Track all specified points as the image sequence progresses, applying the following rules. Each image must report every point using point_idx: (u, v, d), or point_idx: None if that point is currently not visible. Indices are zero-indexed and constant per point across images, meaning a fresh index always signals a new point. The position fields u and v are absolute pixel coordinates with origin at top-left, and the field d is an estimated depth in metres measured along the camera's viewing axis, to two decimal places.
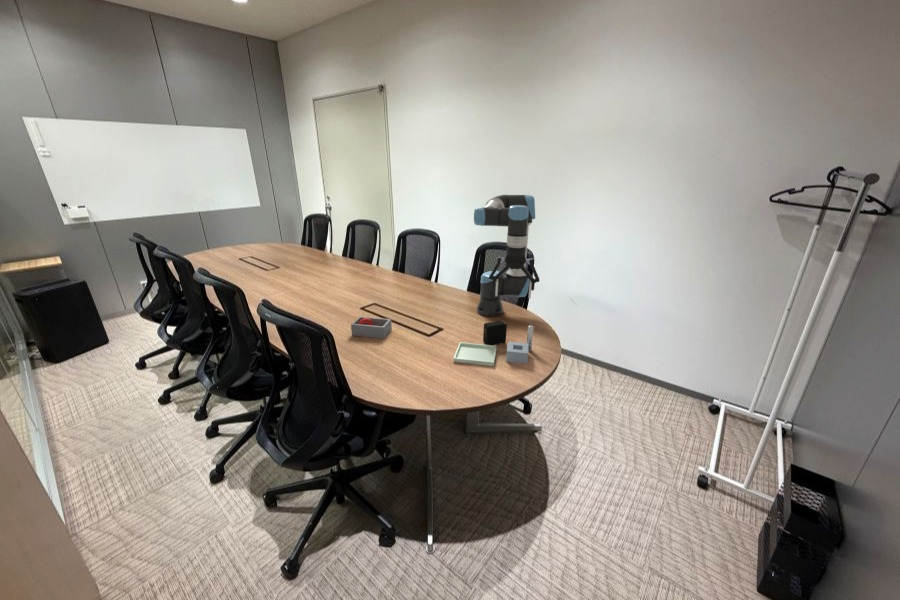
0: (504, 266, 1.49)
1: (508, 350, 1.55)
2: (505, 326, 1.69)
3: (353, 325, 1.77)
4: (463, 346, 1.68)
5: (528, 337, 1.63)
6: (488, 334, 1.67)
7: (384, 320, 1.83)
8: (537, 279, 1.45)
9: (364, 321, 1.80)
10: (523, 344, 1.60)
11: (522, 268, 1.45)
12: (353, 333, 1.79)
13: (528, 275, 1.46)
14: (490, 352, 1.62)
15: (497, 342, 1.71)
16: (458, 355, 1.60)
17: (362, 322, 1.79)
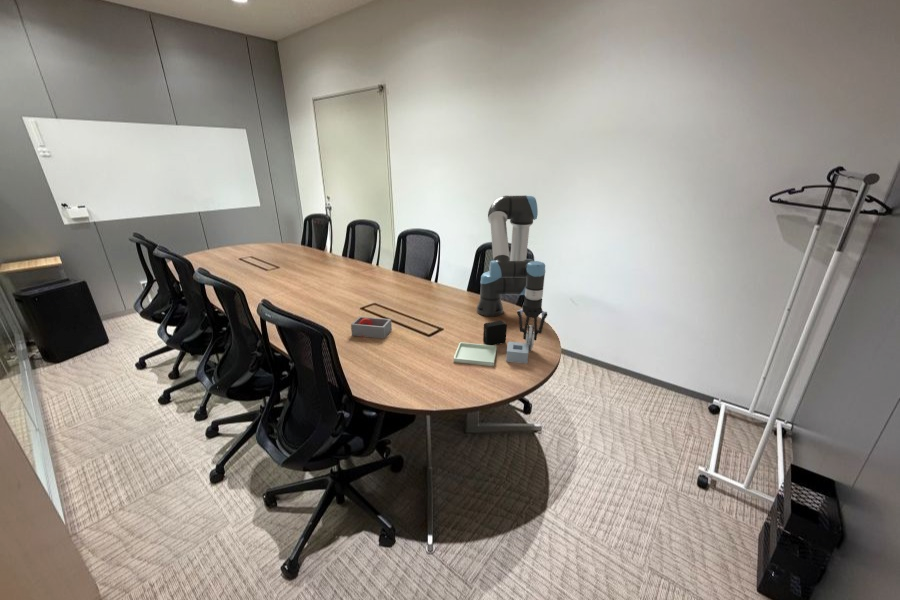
0: (526, 317, 1.62)
1: (508, 350, 1.55)
2: (505, 326, 1.69)
3: (353, 325, 1.77)
4: (463, 346, 1.68)
5: (528, 337, 1.63)
6: (488, 334, 1.67)
7: (384, 320, 1.83)
8: (540, 331, 1.60)
9: (364, 321, 1.79)
10: (523, 344, 1.60)
11: (535, 318, 1.58)
12: (353, 333, 1.79)
13: (535, 326, 1.60)
14: (490, 352, 1.62)
15: (497, 342, 1.71)
16: (458, 355, 1.60)
17: (362, 322, 1.79)
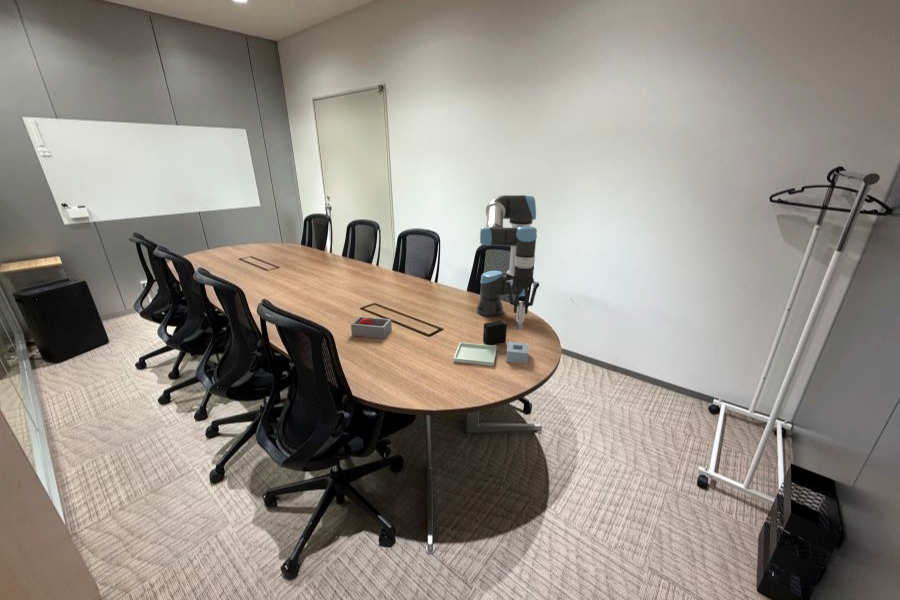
0: None
1: (508, 350, 1.55)
2: (505, 326, 1.69)
3: (353, 325, 1.77)
4: (463, 346, 1.68)
5: (518, 314, 1.51)
6: (488, 334, 1.67)
7: (384, 320, 1.83)
8: (531, 303, 1.48)
9: (364, 321, 1.79)
10: (523, 344, 1.60)
11: (526, 289, 1.46)
12: (353, 333, 1.79)
13: (526, 298, 1.48)
14: (490, 352, 1.62)
15: (497, 342, 1.71)
16: (458, 355, 1.60)
17: (362, 322, 1.79)
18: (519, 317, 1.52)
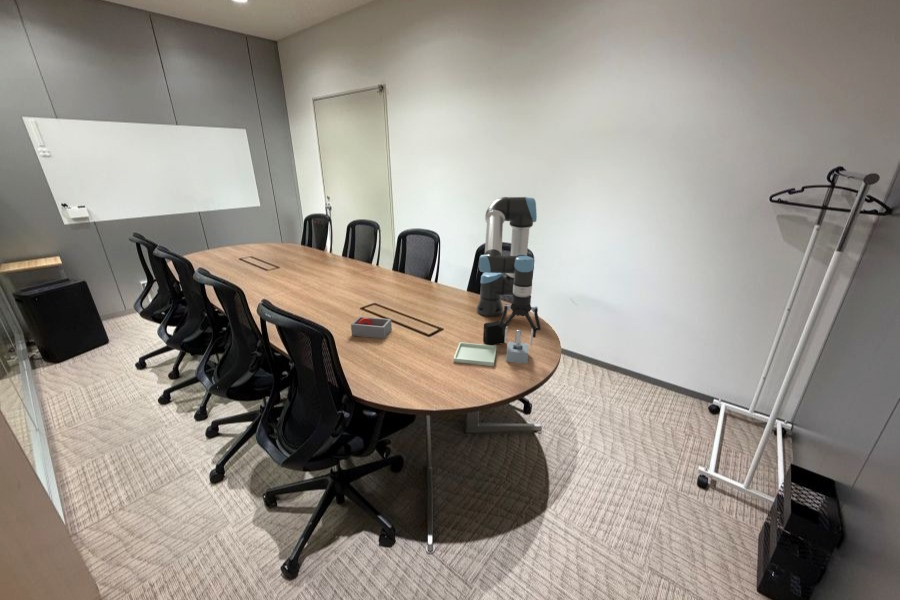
0: (511, 313, 1.54)
1: (508, 350, 1.55)
2: None
3: (353, 325, 1.77)
4: (463, 346, 1.68)
5: (516, 342, 1.56)
6: (488, 334, 1.67)
7: (384, 320, 1.83)
8: (539, 327, 1.51)
9: (363, 321, 1.80)
10: (523, 344, 1.60)
11: (526, 316, 1.50)
12: (353, 333, 1.79)
13: (531, 323, 1.51)
14: (490, 352, 1.62)
15: (497, 342, 1.71)
16: (458, 355, 1.60)
17: (361, 322, 1.80)
18: (517, 345, 1.56)
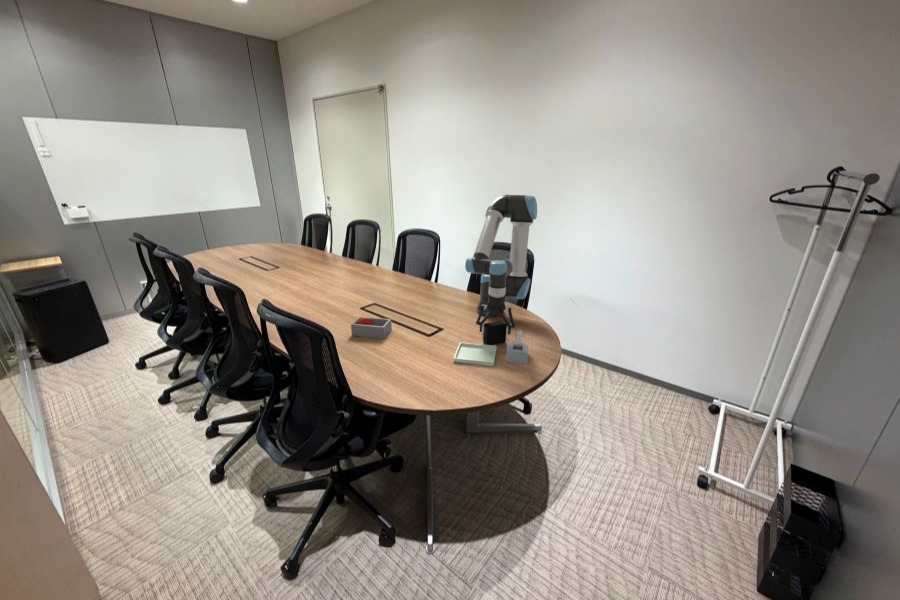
0: (487, 312, 1.69)
1: (508, 350, 1.55)
2: (505, 326, 1.69)
3: (353, 325, 1.77)
4: (463, 346, 1.68)
5: (516, 342, 1.56)
6: (488, 334, 1.67)
7: (384, 320, 1.83)
8: (513, 325, 1.66)
9: (363, 320, 1.81)
10: (523, 344, 1.60)
11: (501, 314, 1.65)
12: (353, 333, 1.79)
13: (506, 321, 1.66)
14: (490, 352, 1.62)
15: (497, 342, 1.71)
16: (458, 355, 1.60)
17: (361, 321, 1.80)
18: (517, 345, 1.56)
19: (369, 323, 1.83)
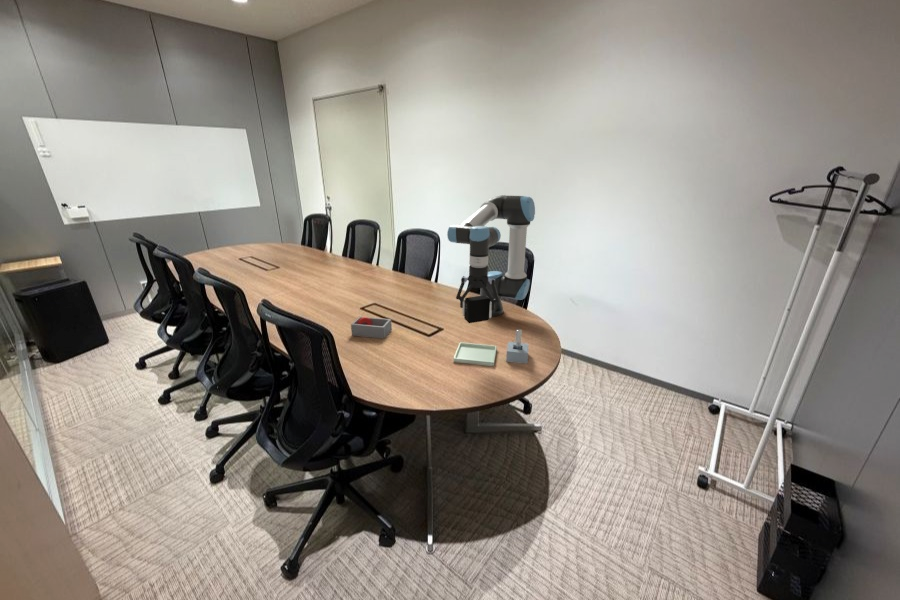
0: None
1: (508, 350, 1.55)
2: (488, 301, 1.52)
3: (353, 325, 1.77)
4: (463, 346, 1.68)
5: (516, 342, 1.56)
6: (469, 310, 1.50)
7: (384, 320, 1.83)
8: (497, 299, 1.49)
9: (363, 320, 1.81)
10: (523, 344, 1.60)
11: (484, 287, 1.48)
12: (353, 333, 1.79)
13: (489, 295, 1.49)
14: (490, 352, 1.62)
15: (480, 319, 1.53)
16: (458, 355, 1.60)
17: (361, 321, 1.81)
18: (517, 345, 1.56)
19: (369, 323, 1.83)
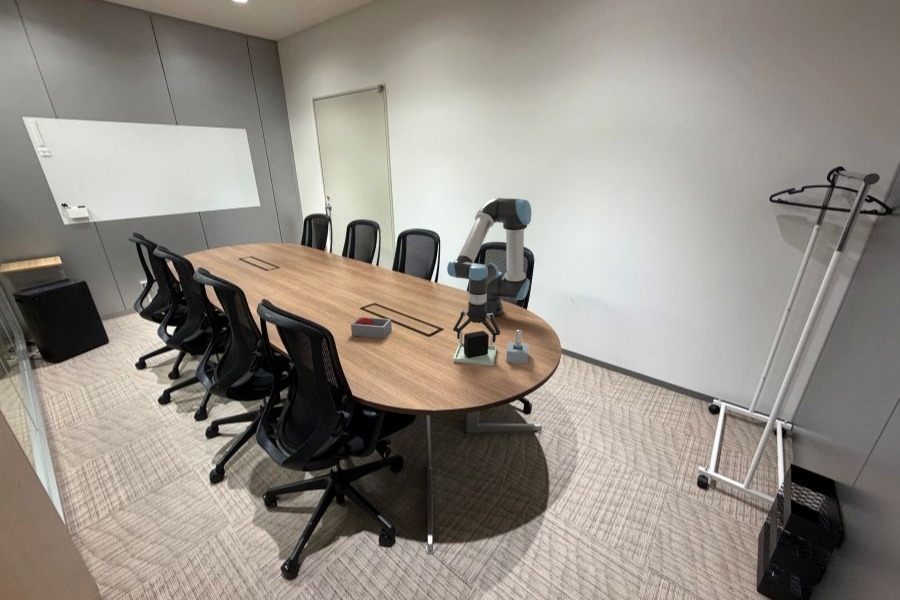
0: None
1: (508, 350, 1.55)
2: (487, 337, 1.58)
3: (353, 325, 1.77)
4: (463, 346, 1.68)
5: (516, 342, 1.56)
6: (468, 345, 1.56)
7: (384, 320, 1.83)
8: (497, 332, 1.54)
9: (363, 320, 1.81)
10: (523, 344, 1.60)
11: (483, 322, 1.53)
12: (353, 333, 1.79)
13: (489, 329, 1.54)
14: (490, 352, 1.62)
15: (479, 354, 1.59)
16: (458, 355, 1.60)
17: (361, 321, 1.81)
18: (517, 345, 1.56)
19: (369, 323, 1.83)
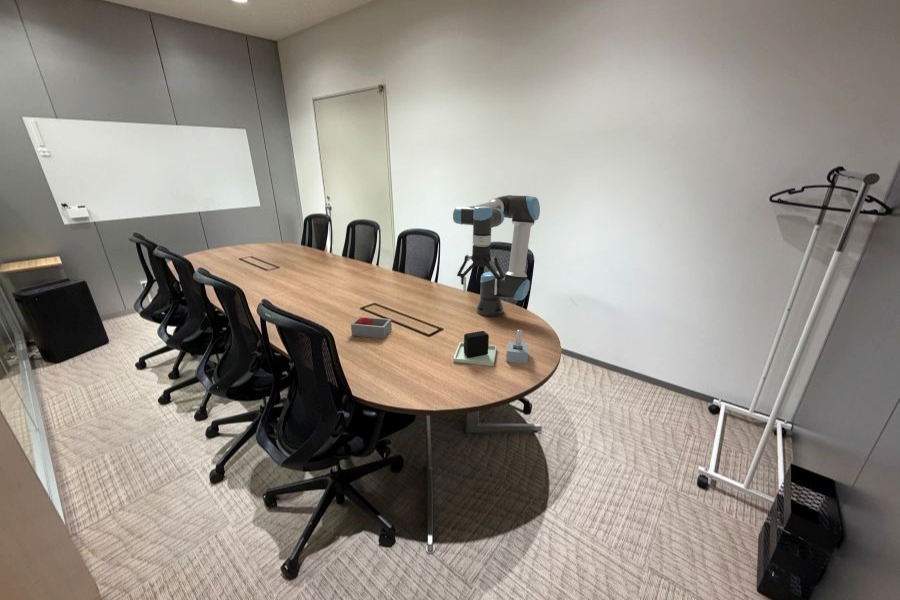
0: (471, 264, 1.56)
1: (508, 350, 1.55)
2: (487, 337, 1.58)
3: (353, 325, 1.77)
4: (463, 346, 1.68)
5: (516, 342, 1.56)
6: (468, 345, 1.56)
7: (384, 320, 1.83)
8: (502, 276, 1.53)
9: (363, 320, 1.81)
10: (523, 344, 1.60)
11: (487, 266, 1.52)
12: (353, 333, 1.79)
13: (493, 272, 1.53)
14: (490, 352, 1.62)
15: (479, 354, 1.59)
16: (458, 355, 1.60)
17: (361, 321, 1.81)
18: (517, 345, 1.56)
19: (369, 323, 1.83)
